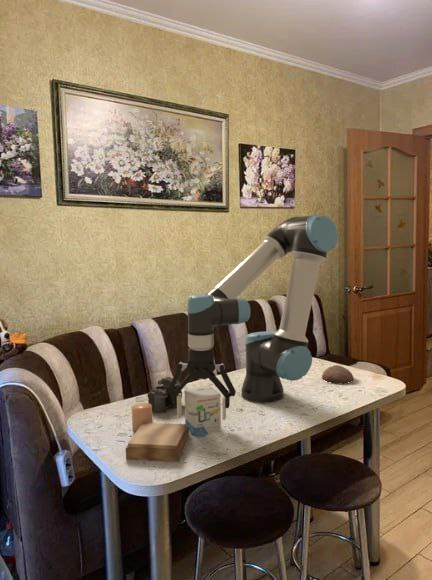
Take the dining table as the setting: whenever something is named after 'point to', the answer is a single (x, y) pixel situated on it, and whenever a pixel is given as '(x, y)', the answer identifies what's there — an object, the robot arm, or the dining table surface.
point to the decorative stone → (337, 375)
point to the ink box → (202, 410)
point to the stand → (158, 442)
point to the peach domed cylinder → (141, 415)
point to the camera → (162, 395)
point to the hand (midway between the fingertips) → (201, 417)
